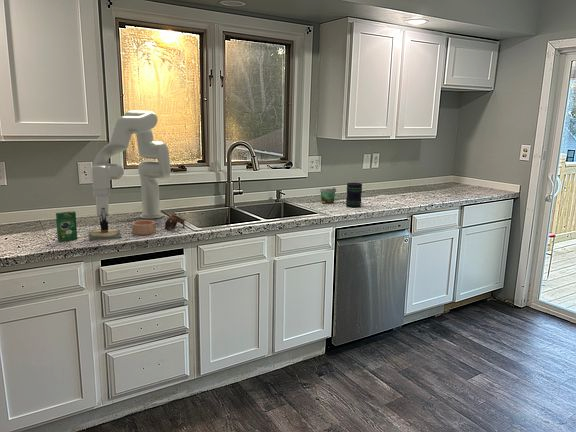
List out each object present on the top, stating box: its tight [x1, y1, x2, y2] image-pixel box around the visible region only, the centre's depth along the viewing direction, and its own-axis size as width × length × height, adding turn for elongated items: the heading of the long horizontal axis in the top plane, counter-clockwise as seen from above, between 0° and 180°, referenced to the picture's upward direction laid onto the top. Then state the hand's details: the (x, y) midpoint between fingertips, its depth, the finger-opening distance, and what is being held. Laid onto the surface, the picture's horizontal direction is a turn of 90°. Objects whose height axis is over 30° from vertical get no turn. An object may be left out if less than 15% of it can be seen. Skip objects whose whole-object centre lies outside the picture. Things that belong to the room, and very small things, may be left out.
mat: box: [88, 229, 123, 242], centre depth 219 cm, size 14×14×1 cm
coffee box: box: [55, 210, 78, 243], centre depth 209 cm, size 8×3×13 cm, turn 135°
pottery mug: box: [164, 214, 186, 231], centre depth 234 cm, size 12×10×8 cm
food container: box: [319, 187, 337, 205], centre depth 306 cm, size 12×6×10 cm, turn 127°
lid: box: [90, 228, 119, 238], centre depth 218 cm, size 12×12×5 cm
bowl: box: [131, 219, 157, 236], centre depth 225 cm, size 11×11×5 cm
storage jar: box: [345, 182, 363, 209], centre depth 297 cm, size 10×10×15 cm
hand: (104, 227), depth 218 cm, fingers open, 9 cm apart
